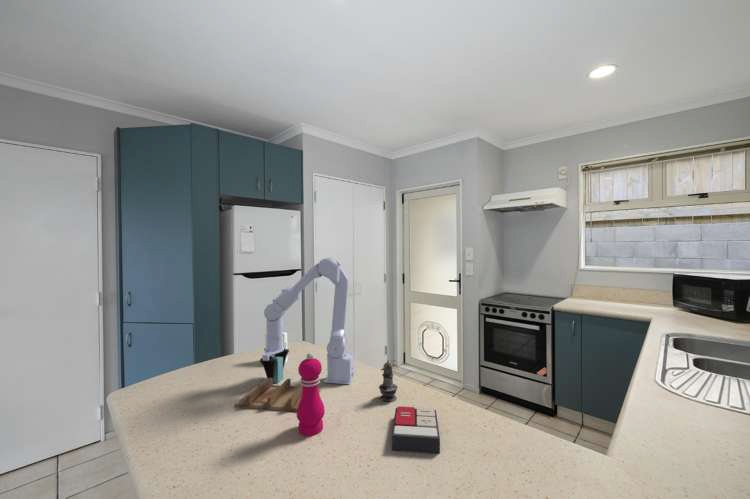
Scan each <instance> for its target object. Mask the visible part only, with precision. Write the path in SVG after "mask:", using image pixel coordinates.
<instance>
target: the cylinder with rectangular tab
mask: <svg viewBox="0 0 750 499" xmlns="http://www.w3.org/2000/svg"><path fill="white" fill-rule="evenodd" d="M264 336H265V337H264V338H265V339H264V340H265V344H264V345H265V348H266V347H267V332H265V335H264ZM283 343H286V348H285V349H288V332H285V331H283ZM288 356H289V353H288V354H287V357H286V360H285V364H286V363H287V362H288V360H289V359H288ZM272 357H275V356H274V355H273V356H272Z"/></svg>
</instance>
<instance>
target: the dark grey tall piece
mask: <svg viewBox="0 0 750 499" xmlns="http://www.w3.org/2000/svg"><path fill="white" fill-rule="evenodd" d="M394 376H395V374H394V373H393V365H392V363H391V362H390V361H389V360H387V361H386V362H385V363H384V364H383V373H382V377H383V381H382V383H381V384H379V386H378V389H379V391H380V394H381V395H380V397H379V399H380V401H382V402H383V403H384V402H385V403H392V402H393V403H394V402H395V401H397V398H398V397H397V396H396V395H395V394H396V393H397V390H398V385H397V384H395V383H394V380H393V379H394Z"/></svg>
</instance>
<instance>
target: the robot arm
mask: <svg viewBox="0 0 750 499" xmlns="http://www.w3.org/2000/svg"><path fill="white" fill-rule="evenodd" d="M346 274H347V273H346V272H345V271H344V268H342V265H341V263H339V261H337V260H336V258H333V257H327V258H323V259H321V260H320V261H319V262H318V263H316V264H314V266H312V267H311V268H310V269H309V270H308V271H307V272H306V273H305V274H304V275H303V276H302V277H301V278H300V279H299V280H298V281H297V282H296V283H295V284H294V285H293V286H291V287H290V286H289V287H287V288H283V289H281V291H280V292H281V293H280V294H279V295H278V296H277V297H276V298H273V299H272V303H270V304H268V305H266V307H265V309H264V310H263V314H264V318H265V319H266V325H265V326H266V333H267V347H266V346H265V347H264V348H263V351H264V353H263V354H262V357H261V358H260V359H259V361H260V364H261V366H262V367H263V369H264V372H265V375H266V379H268V378H272V379H273V378H274V371H275V365H276V362H277V360H278V359H273V358H272V356H273V355H274V356H275V357H283V369H284V368H285V364H286V363H285V360H286V357H287V354H288V355H289V352H290V350H289V349H285V348H286V343H283V332H284V323H283V320H284V319H283V316H284V315H285V313H286V311H288V310H289V309H290V308H291V307H292V305H294V304H295V303H296V302H297V301H298V300H299V298H300V293H301V292H302V291H303V290H304V289H305V288H307V286H308V285H310V283H312V282H313V281H314V279H318V278H321V277H325V278H326V279H328V280H329V281H331V283H332V284H333V285H334V294H333V295H334V297H333V309H332V319H331V320H332V322H331V332H330V338H329V342H328V343H327V346H326V352H327V353H326V360H327V361H326V362H327V363H326V364H327V365H326V367H327V368H326V372H327V374H326V378H325V379H324V381H323V383H324V384H339V385H340V384H342V385H350V384H351V383H352V381H353V379H354V377H355V358H354V355H351V354H348V351H347V350H346V345H347V342H348V341H347V338H346V328H345V325H346V313H347V304H348V302H347V301H348V292H349V291H348V290H349V278H348V276H347V275H346Z"/></svg>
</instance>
